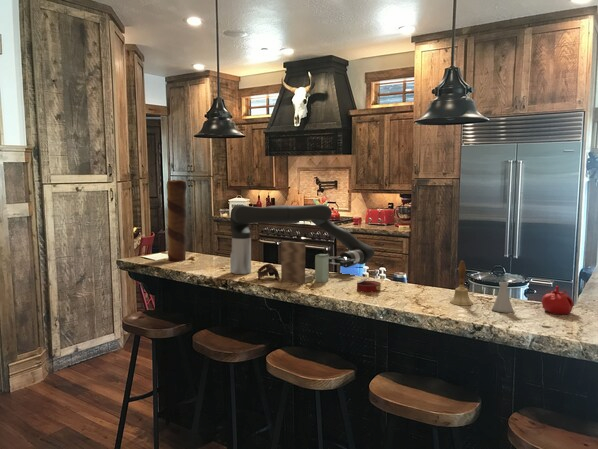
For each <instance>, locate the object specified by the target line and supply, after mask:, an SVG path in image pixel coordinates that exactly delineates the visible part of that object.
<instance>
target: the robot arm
mask: <svg viewBox="0 0 598 449" xmlns="http://www.w3.org/2000/svg"><path fill="white" fill-rule="evenodd" d="M332 214H333V212H332V209H331V208H330V206H328V205H326V204H323V203H321V204H319V203H318V204H310V205H296V204H295V205H290V204H289V205H288V204H287V205H286V204H279V205H278V204H276V205H269V206H265V207H264V206H262V207H259V206H250V205H244V204H235V205H234V206H233V207H232V208H231V210H230V222H229V223H230V233H231V252H230V264H229V265H230V266H229V268H230V273H232V274H233V275H234V274H236V275H247V274H250V273H252V238H251V237H252V234H251V230H250V224H256V223H267V224H276V225H280V224H283V225H284V224H286V225H287V224H292V223H293V224H294V223H297V222H301V221H302V222H303V221H305V220H309V221H311V223H312V224H314V225H315V226H316V227H318V228H320V229H322V230H324V231H325V232H326V233H328V234H329V235H331V236H332V237H333V238H334V239H336V240H337V241H339V243H341V244H342V245H343V246H344V247H345V248H346V249H347V250H348V251H344V252H341V253H339V255H338V256H332V255H331V256H329V264H332V265H339V266H340V267H342V268H349V267H353V266H356V265H364V264H366V263H367V262H369V261H370V260H371V259H372V258H373V257H374V256H375V250H374V248H373V247H372V246H371V245H369V244H367V243H364V242H362V241H360V240H359V239H358V238H356V237H355V236H354V235H353V234H352V233H351V232H349V231H348V230H347V229H344V228H342V227H340V226H338V225H336V224H335V223H333V222H332V221H331V220H330V219H331V217H332Z"/></svg>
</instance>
